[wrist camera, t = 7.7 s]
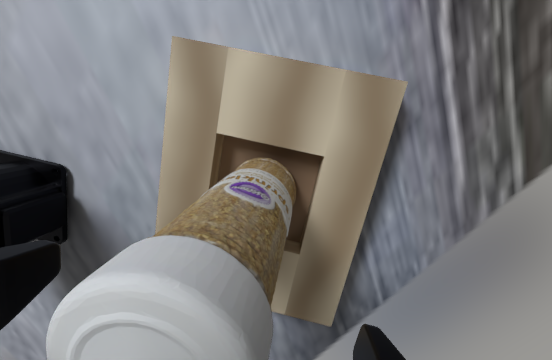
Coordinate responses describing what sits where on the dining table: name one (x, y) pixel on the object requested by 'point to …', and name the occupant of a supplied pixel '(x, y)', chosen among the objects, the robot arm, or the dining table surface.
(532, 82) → the dining table surface
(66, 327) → the sprinkles bottle
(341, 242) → the socket block
